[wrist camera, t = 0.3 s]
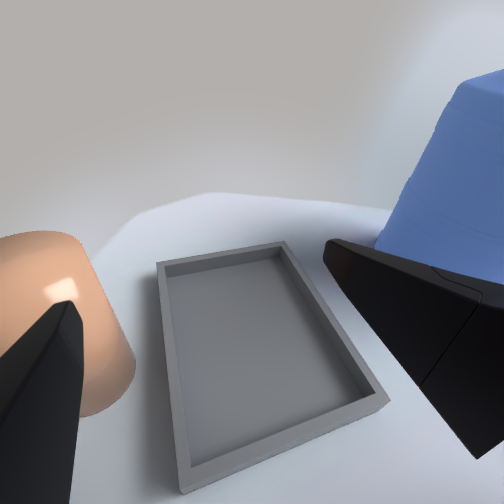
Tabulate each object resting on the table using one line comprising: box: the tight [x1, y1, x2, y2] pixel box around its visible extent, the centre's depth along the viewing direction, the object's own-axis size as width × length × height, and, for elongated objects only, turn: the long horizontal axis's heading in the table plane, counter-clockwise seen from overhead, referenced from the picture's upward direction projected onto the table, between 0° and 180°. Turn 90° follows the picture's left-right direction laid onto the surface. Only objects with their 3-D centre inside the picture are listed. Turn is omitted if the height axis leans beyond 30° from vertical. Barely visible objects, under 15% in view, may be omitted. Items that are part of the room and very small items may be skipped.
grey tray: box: [156, 241, 391, 495], centre depth 25 cm, size 20×16×2 cm
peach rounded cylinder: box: [0, 231, 136, 417], centre depth 18 cm, size 6×6×13 cm
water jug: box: [374, 69, 504, 285], centre depth 26 cm, size 16×16×28 cm
